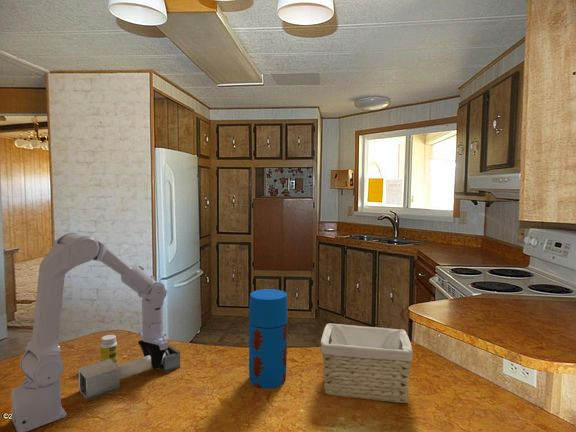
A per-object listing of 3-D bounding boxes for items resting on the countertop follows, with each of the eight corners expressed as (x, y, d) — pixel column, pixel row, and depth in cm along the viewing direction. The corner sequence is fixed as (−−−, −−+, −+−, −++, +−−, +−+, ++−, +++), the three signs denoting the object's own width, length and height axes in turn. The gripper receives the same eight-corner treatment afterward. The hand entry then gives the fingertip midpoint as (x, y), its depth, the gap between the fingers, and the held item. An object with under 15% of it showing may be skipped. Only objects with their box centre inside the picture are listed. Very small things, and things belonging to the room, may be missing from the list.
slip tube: (115, 384, 100) (115, 369, 100) (110, 378, 103) (109, 364, 102) (170, 364, 111) (170, 351, 111) (163, 360, 114) (163, 347, 114)
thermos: (241, 382, 104) (241, 296, 102) (261, 366, 113) (262, 287, 112) (274, 393, 99) (275, 302, 97) (292, 375, 108) (294, 292, 107)
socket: (164, 372, 109) (164, 356, 108) (154, 365, 113) (154, 349, 113) (180, 367, 112) (180, 351, 112) (169, 359, 117) (169, 344, 117)
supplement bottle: (110, 368, 111) (110, 340, 111) (97, 366, 112) (96, 339, 112) (120, 360, 116) (120, 334, 115) (107, 359, 117) (107, 333, 116)
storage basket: (318, 396, 98) (319, 342, 97) (324, 368, 114) (325, 321, 113) (412, 408, 93) (414, 352, 92) (405, 377, 109) (407, 328, 108)
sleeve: (87, 401, 94) (87, 377, 93) (79, 390, 98) (78, 368, 98) (119, 389, 99) (119, 367, 99) (110, 380, 104) (109, 359, 104)
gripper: (177, 324, 106) (177, 369, 107) (154, 312, 116) (154, 353, 117) (154, 330, 101) (154, 378, 102) (132, 317, 111) (132, 360, 112)
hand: (153, 365), depth 109 cm, fingers closed on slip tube, 4 cm apart
